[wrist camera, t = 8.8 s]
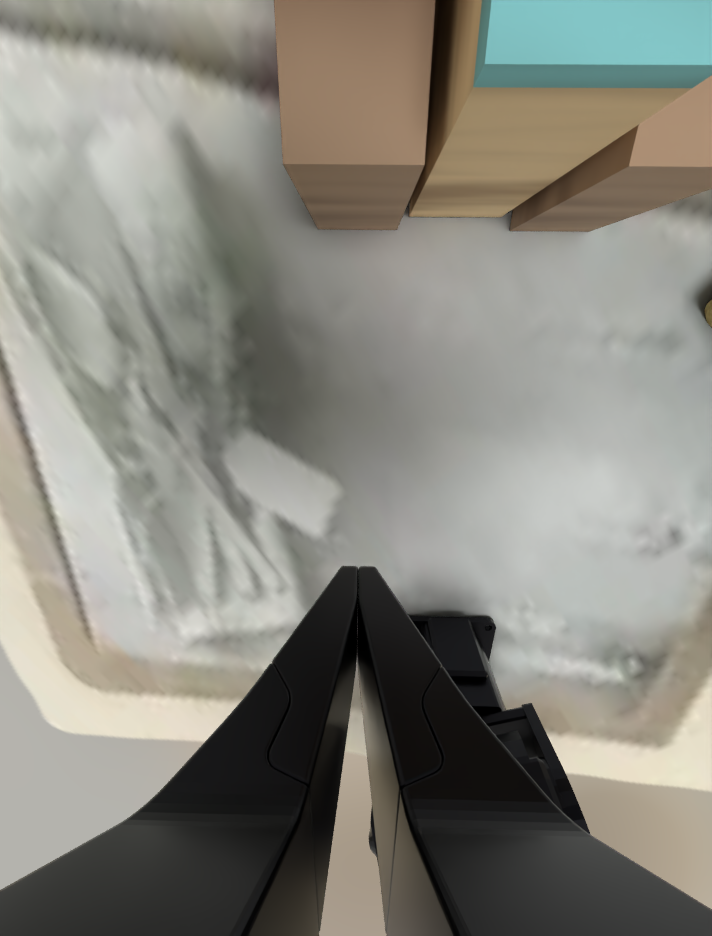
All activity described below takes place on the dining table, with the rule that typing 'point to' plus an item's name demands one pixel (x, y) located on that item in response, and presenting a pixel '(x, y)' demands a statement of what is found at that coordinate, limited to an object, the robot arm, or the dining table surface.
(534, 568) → the dining table surface
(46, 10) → the dining table surface
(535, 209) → the socket block
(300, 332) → the dining table surface
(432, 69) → the block
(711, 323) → the gavel
